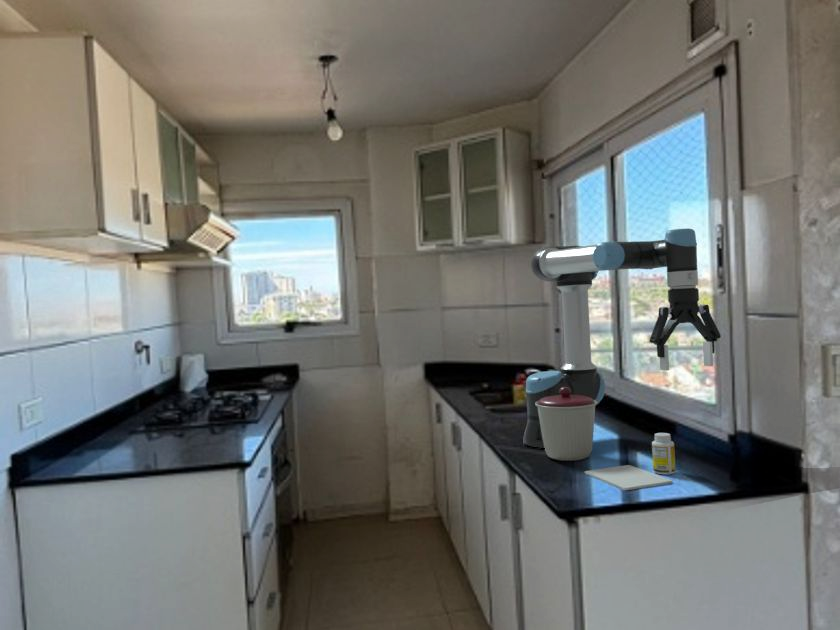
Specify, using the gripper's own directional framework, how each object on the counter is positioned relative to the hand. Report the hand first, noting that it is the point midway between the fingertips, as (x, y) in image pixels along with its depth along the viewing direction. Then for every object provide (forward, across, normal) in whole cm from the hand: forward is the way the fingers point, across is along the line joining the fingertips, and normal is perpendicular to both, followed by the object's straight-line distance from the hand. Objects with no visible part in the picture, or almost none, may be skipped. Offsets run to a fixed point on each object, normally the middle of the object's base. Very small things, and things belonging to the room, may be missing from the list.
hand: (686, 368), depth 171 cm
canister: (+28, -21, +28) cm, 45 cm away
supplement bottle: (+28, -7, +2) cm, 28 cm away
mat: (+27, -19, +1) cm, 33 cm away
